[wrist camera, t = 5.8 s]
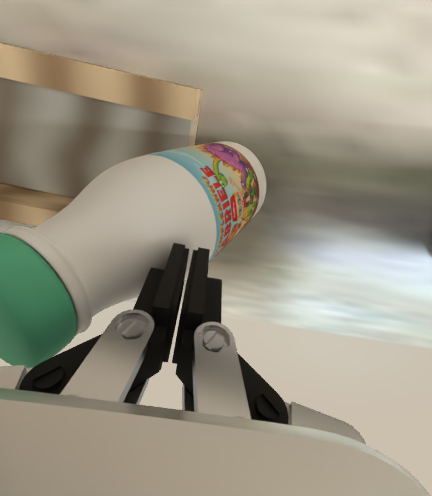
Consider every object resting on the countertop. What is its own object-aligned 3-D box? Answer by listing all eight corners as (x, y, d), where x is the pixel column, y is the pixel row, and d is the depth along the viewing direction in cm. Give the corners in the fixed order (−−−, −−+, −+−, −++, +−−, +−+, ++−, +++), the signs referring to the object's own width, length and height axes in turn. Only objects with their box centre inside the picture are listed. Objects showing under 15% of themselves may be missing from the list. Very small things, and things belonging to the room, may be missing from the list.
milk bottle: (209, 230, 27) (2, 395, 11) (181, 158, 25) (-127, 230, 9) (279, 212, 23) (116, 433, 7) (252, 125, 21) (-75, 144, 5)
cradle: (202, 89, 21) (197, 89, 18) (182, 232, 29) (175, 252, 25) (-46, 31, 20) (-104, 19, 17) (-1, 197, 27) (-35, 212, 24)
